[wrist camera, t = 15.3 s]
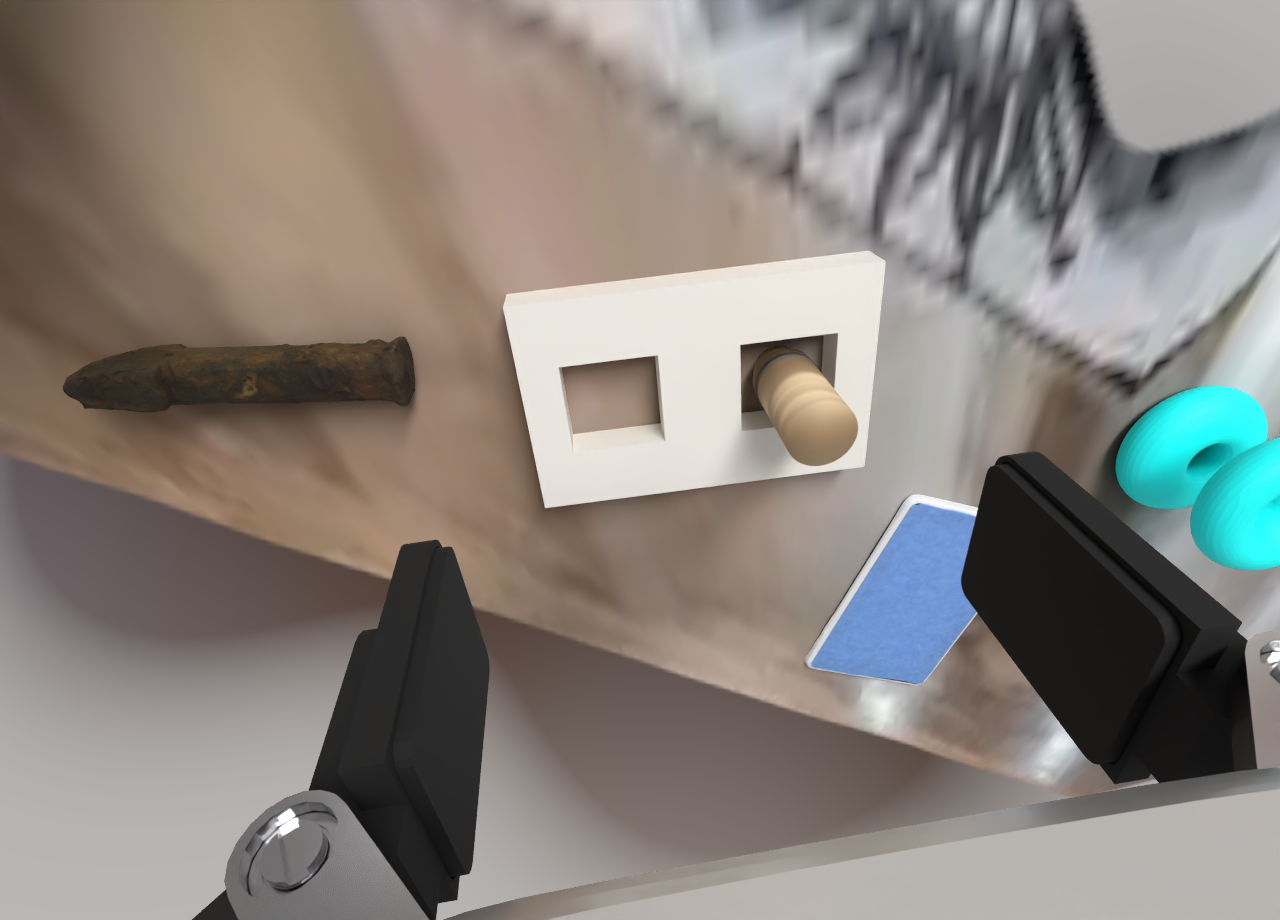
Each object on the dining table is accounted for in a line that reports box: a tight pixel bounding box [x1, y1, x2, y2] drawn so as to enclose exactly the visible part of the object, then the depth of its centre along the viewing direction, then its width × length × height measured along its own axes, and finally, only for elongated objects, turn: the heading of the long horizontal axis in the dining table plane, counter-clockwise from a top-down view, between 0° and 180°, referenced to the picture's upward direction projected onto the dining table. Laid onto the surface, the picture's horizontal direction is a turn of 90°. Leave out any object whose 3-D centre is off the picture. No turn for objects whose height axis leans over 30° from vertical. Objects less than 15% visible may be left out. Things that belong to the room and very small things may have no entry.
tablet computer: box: [805, 494, 978, 685], centre depth 55 cm, size 19×13×1 cm, turn 162°
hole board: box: [503, 251, 886, 508], centre depth 42 cm, size 14×22×2 cm, turn 95°
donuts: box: [1116, 386, 1280, 570], centre depth 45 cm, size 10×10×10 cm
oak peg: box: [753, 346, 858, 466], centre depth 39 cm, size 4×4×9 cm
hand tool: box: [63, 337, 415, 412], centre depth 38 cm, size 19×4×5 cm, turn 87°
